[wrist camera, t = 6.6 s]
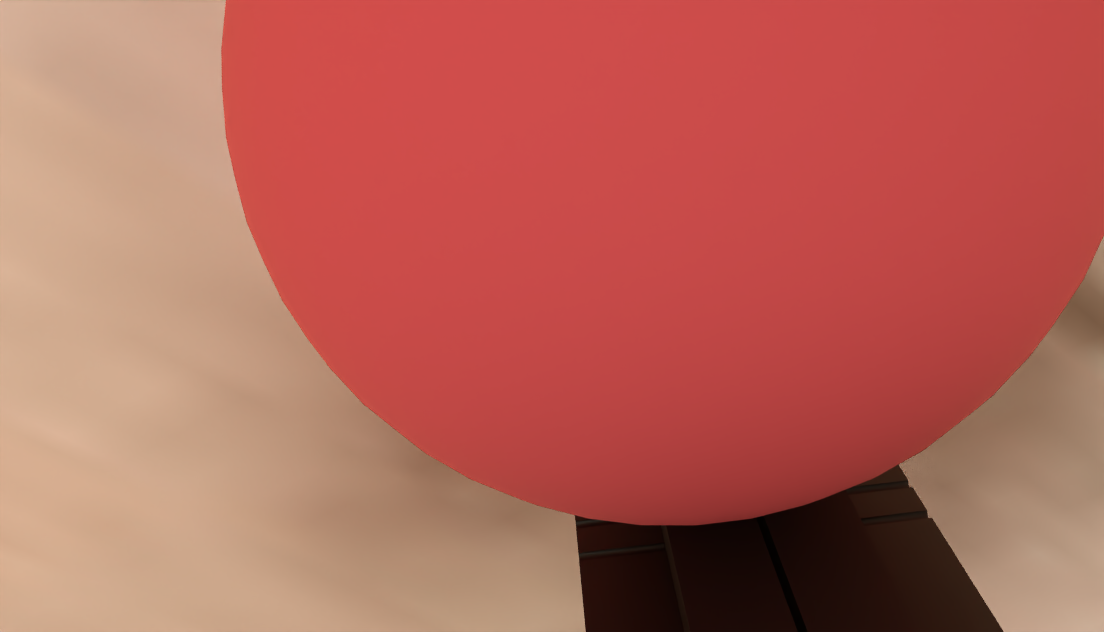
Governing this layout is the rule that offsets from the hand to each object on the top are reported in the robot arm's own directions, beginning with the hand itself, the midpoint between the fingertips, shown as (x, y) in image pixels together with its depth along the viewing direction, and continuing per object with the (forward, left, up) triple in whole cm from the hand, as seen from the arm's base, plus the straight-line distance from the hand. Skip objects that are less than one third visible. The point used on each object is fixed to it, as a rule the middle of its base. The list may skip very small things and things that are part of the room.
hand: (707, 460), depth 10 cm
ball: (0, -4, +1) cm, 4 cm away
